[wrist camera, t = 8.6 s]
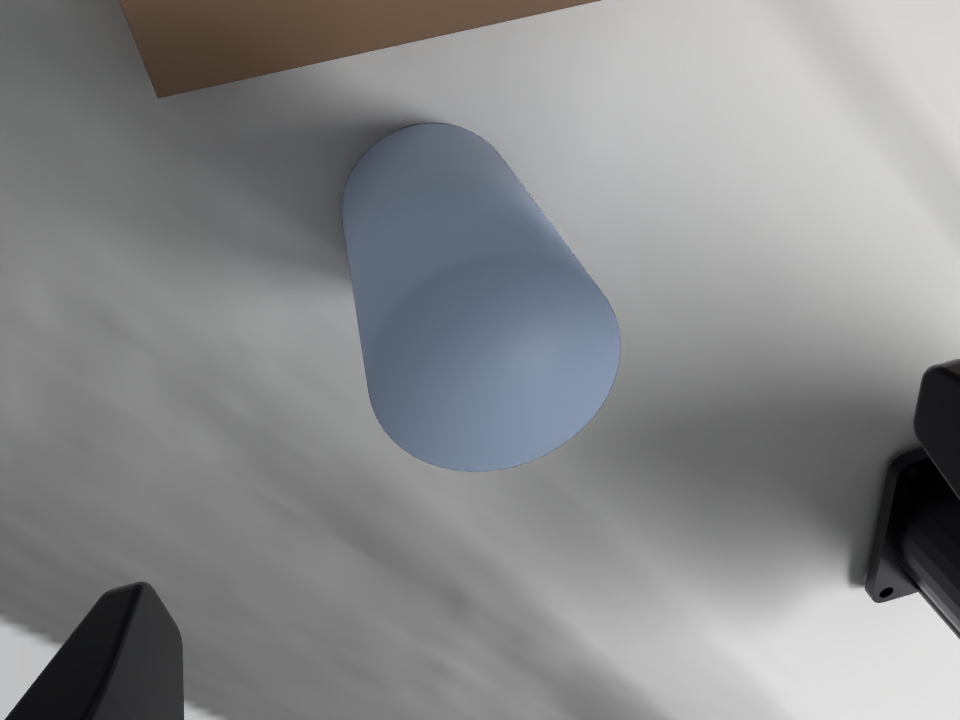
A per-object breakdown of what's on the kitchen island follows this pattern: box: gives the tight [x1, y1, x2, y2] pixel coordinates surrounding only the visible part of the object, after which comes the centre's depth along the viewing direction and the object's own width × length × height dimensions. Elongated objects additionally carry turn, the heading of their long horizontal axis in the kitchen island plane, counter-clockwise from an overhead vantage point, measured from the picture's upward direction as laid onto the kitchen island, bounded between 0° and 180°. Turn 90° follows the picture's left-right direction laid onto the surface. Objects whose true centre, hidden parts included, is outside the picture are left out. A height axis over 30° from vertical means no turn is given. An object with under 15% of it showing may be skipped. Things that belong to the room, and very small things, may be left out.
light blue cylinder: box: [342, 123, 620, 472], centre depth 13 cm, size 4×4×6 cm
